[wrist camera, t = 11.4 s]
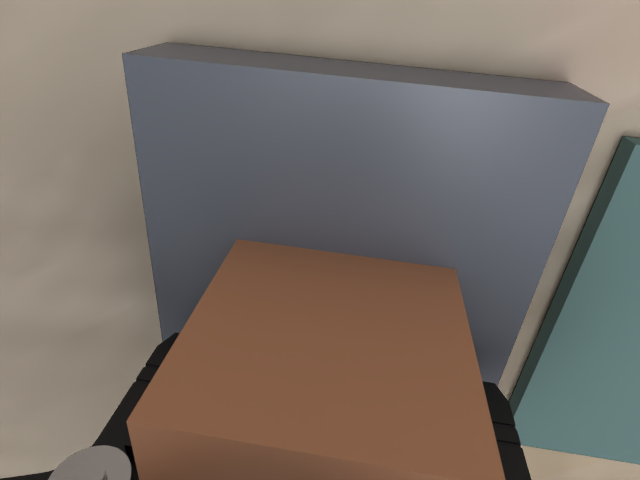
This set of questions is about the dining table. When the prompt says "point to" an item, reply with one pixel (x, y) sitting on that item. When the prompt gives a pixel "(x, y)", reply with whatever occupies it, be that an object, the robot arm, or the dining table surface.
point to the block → (319, 376)
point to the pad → (592, 334)
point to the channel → (356, 171)
